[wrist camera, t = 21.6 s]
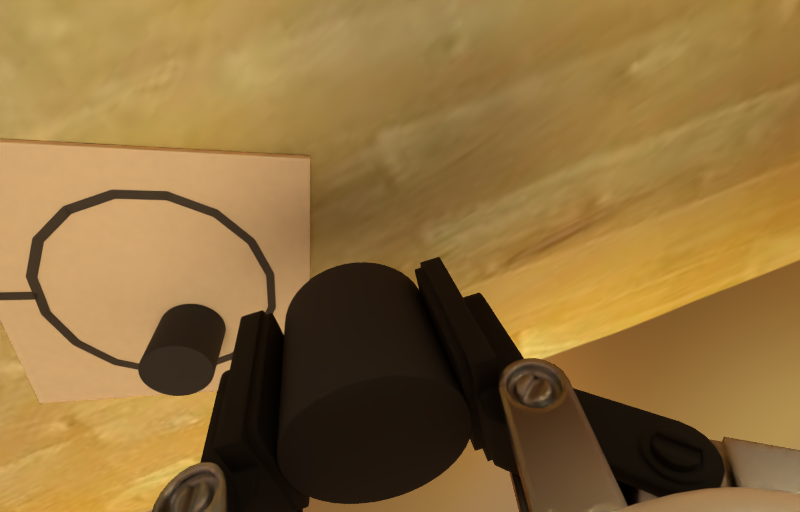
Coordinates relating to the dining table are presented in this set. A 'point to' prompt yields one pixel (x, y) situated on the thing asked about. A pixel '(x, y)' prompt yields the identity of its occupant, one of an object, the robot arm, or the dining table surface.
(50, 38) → the dining table surface
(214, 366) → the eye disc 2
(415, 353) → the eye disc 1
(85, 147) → the drawing pad
